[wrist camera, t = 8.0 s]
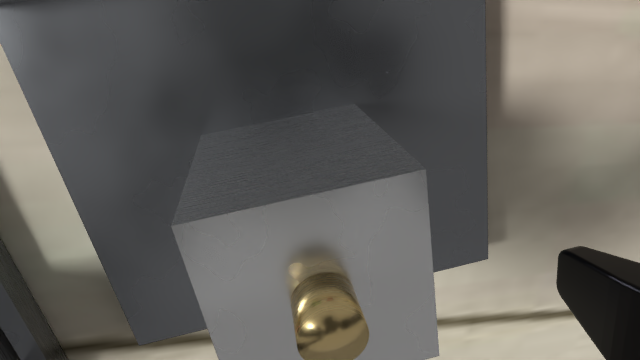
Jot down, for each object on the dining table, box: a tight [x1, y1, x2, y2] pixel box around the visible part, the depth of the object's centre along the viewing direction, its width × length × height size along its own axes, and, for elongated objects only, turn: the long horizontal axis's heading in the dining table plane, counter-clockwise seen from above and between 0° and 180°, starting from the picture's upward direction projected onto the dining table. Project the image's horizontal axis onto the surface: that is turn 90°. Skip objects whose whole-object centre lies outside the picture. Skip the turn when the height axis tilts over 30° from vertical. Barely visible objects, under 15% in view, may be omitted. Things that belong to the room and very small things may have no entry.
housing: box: [171, 104, 439, 360], centre depth 11 cm, size 5×5×7 cm
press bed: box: [0, 0, 488, 345], centre depth 14 cm, size 14×14×2 cm
